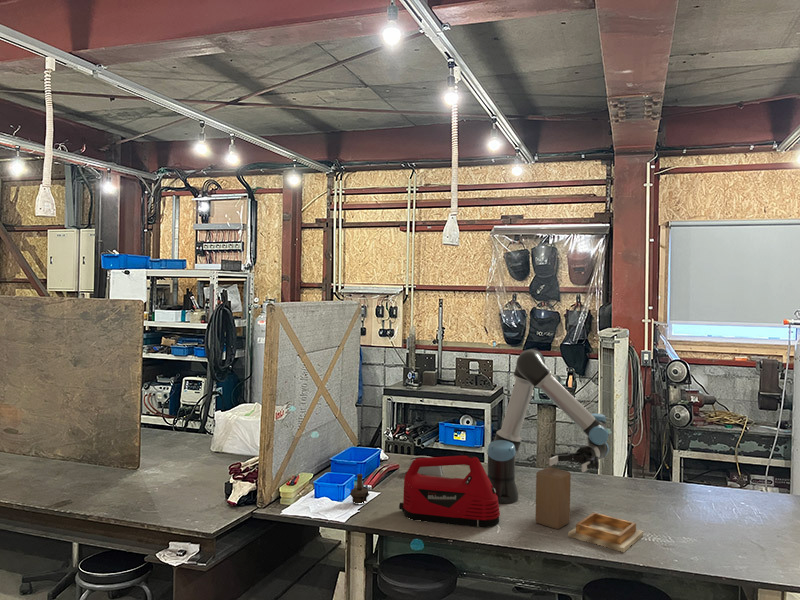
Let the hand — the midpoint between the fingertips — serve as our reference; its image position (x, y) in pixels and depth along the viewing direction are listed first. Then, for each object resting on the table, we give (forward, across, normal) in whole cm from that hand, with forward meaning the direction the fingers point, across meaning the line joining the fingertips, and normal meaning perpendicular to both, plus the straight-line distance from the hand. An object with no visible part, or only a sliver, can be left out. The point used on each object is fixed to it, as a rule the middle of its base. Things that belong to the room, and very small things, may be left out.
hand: (565, 465), depth 235 cm
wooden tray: (+8, -19, -21) cm, 29 cm away
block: (+10, +1, -20) cm, 23 cm away
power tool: (+32, +34, -20) cm, 51 cm away
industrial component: (+45, +71, -19) cm, 86 cm away
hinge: (-7, +76, -20) cm, 78 cm away
